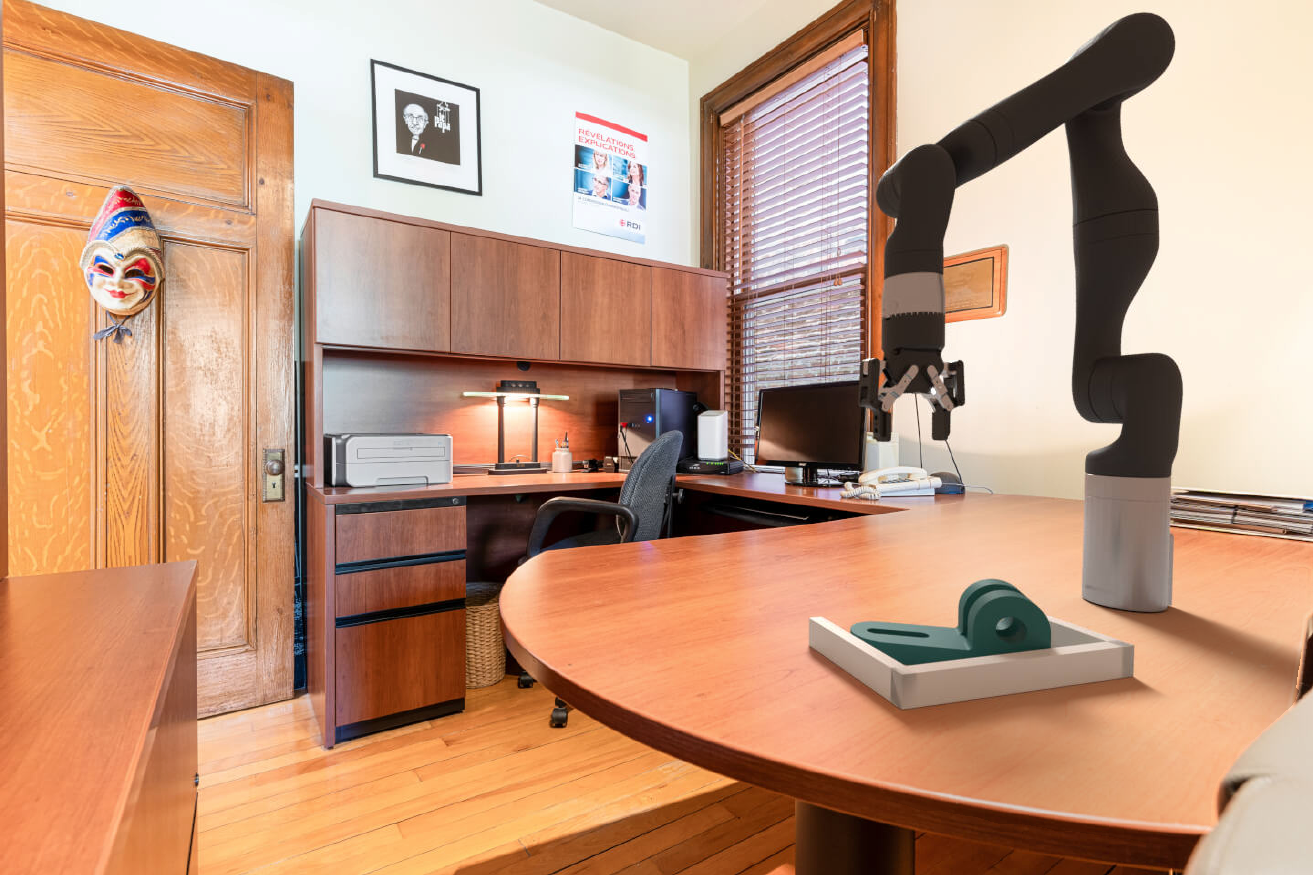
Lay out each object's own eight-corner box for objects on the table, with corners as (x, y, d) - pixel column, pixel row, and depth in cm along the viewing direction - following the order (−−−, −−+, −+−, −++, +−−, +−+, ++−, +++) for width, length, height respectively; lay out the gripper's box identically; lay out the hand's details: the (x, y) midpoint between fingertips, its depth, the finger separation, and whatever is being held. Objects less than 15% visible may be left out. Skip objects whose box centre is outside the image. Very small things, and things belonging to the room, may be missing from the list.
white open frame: (1002, 624, 74) (1003, 599, 74) (1133, 676, 59) (1134, 645, 59) (808, 644, 67) (808, 617, 67) (901, 709, 52) (902, 674, 52)
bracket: (1027, 655, 65) (1029, 581, 65) (1050, 681, 59) (1052, 598, 59) (848, 638, 70) (849, 569, 70) (851, 660, 63) (852, 584, 63)
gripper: (938, 320, 84) (937, 439, 85) (847, 316, 81) (846, 441, 81) (981, 311, 77) (979, 441, 78) (882, 306, 73) (881, 443, 74)
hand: (911, 441), depth 79 cm, fingers open, 8 cm apart
